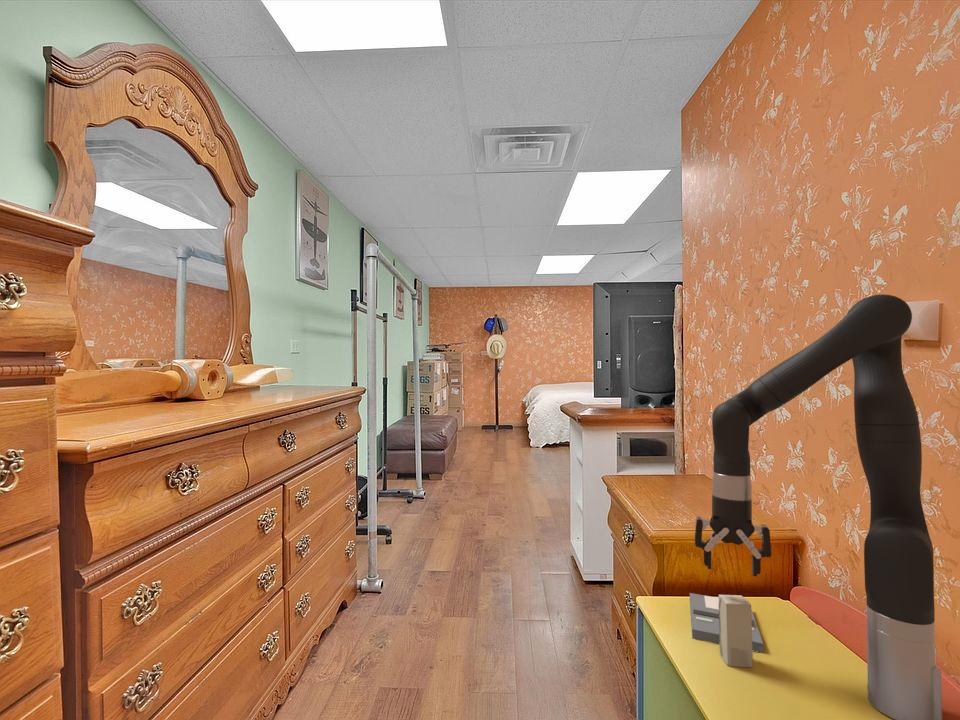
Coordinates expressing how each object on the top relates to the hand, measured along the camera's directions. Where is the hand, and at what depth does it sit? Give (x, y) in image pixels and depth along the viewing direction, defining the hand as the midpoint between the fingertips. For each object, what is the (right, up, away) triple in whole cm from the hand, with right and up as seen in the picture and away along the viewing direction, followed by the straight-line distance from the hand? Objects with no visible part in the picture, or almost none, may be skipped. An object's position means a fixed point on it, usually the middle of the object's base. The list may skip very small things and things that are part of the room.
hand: (731, 571), depth 100 cm
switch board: (+5, -19, +14) cm, 24 cm away
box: (0, -18, -2) cm, 18 cm away
